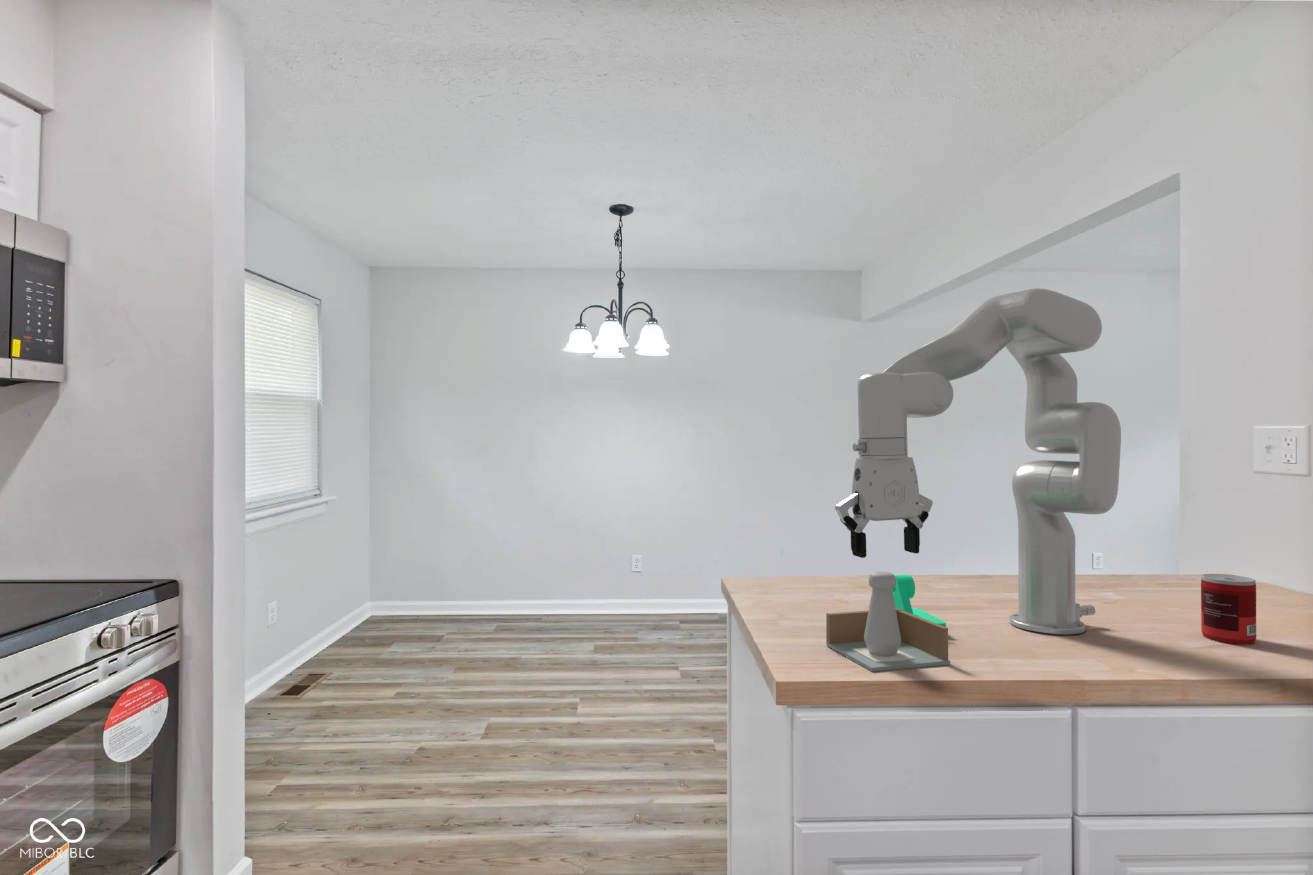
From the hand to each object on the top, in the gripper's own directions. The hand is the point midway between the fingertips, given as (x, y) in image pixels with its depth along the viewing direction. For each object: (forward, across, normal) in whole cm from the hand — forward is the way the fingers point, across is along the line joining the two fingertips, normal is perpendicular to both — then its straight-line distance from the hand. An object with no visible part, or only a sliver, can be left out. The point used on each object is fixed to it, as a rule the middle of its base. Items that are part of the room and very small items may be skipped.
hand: (885, 554), depth 113 cm
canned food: (+19, +65, -6) cm, 68 cm away
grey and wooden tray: (+17, 0, +1) cm, 17 cm away
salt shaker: (+16, -1, 0) cm, 16 cm away
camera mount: (+18, +15, +14) cm, 27 cm away
